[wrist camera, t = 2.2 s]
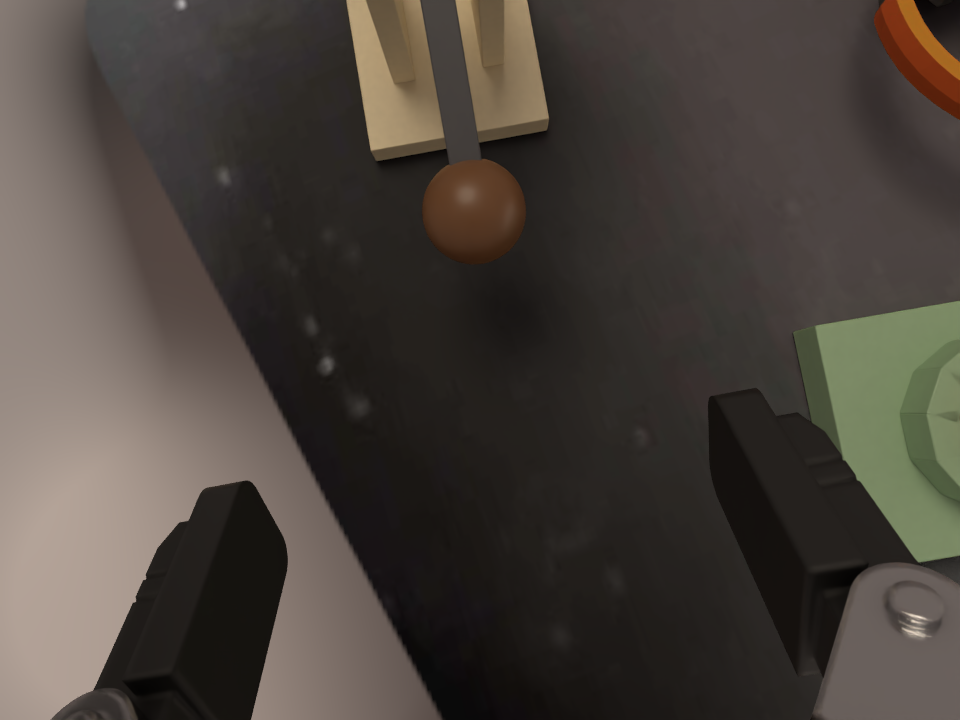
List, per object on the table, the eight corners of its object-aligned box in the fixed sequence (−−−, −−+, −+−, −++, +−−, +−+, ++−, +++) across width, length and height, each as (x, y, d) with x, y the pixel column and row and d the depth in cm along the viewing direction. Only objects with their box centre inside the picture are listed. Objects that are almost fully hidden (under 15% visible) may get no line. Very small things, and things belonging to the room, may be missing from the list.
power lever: (528, 248, 26) (538, 260, 22) (434, 265, 26) (430, 279, 22) (461, -187, 22) (461, -255, 18) (352, -166, 22) (331, -230, 18)
